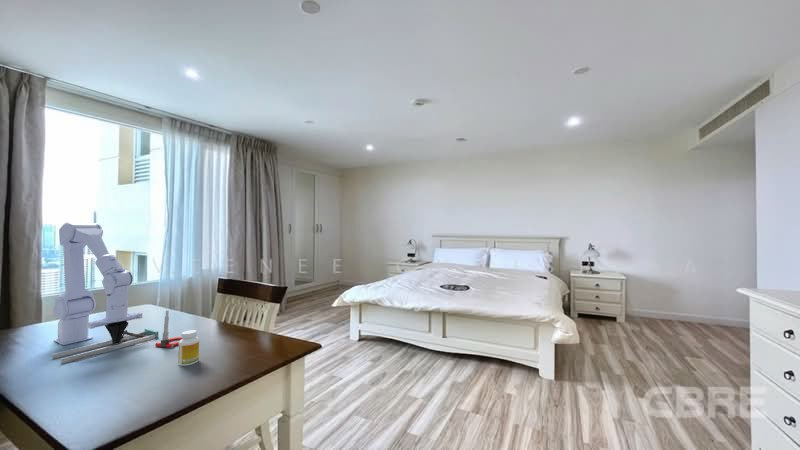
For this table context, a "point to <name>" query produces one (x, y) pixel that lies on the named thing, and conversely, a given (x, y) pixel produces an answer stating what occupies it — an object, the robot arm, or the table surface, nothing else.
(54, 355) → the guide rail
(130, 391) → the table surface
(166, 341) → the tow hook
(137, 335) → the wooden post with brackets
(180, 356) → the supplement bottle
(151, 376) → the table surface
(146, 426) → the table surface
